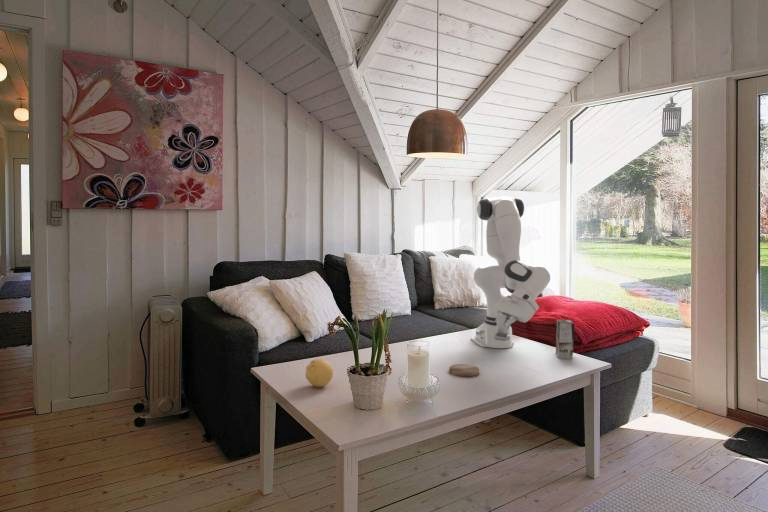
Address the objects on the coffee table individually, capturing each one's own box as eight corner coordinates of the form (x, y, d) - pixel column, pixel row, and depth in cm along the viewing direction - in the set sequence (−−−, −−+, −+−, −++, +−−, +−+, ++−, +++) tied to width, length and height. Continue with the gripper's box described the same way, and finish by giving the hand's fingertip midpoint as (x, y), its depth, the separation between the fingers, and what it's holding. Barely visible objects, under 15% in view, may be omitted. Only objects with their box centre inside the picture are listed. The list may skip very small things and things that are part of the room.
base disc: (443, 369, 207) (443, 365, 207) (469, 366, 212) (469, 363, 212) (459, 378, 196) (459, 374, 196) (485, 375, 201) (485, 371, 200)
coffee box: (573, 359, 226) (575, 323, 224) (557, 358, 227) (559, 322, 225) (569, 353, 234) (571, 319, 233) (555, 352, 236) (556, 318, 234)
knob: (490, 337, 209) (491, 313, 208) (503, 336, 211) (504, 312, 210) (499, 341, 203) (500, 316, 202) (512, 339, 205) (514, 315, 204)
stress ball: (334, 386, 187) (321, 364, 192) (341, 371, 181) (327, 349, 186) (310, 395, 182) (298, 373, 186) (317, 381, 175) (303, 358, 180)
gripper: (502, 290, 218) (482, 313, 215) (533, 298, 199) (511, 324, 196) (510, 299, 220) (490, 323, 217) (542, 308, 201) (520, 334, 198)
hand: (500, 324), depth 206 cm, fingers closed on knob, 4 cm apart
